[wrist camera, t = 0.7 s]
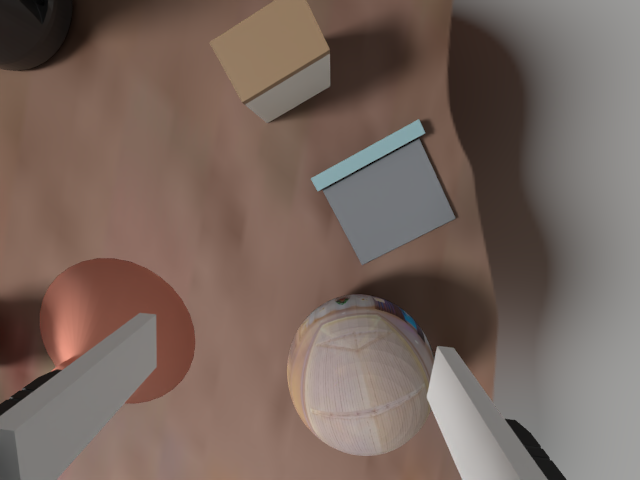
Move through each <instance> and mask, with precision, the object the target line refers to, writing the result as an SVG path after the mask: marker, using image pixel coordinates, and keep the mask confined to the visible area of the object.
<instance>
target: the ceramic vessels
mask: <svg viewBox="0 0 640 480" xmlns="http://www.w3.org/2000/svg"><path fill="white" fill-rule="evenodd" d="M139 313H147V314H156V347H157V367H156V368H155V369H154V370H153V372H152V373H151V374H150V375H149V376H148V377H147V378H146V379H145V381H144V382H143V383H142V384H141V385H140V386H139V387H138V388H137V390H136V391H135V392H134V393H133V394H132V395H131V396H130V397H129V399H128V400H127V401H126V402H125V403H141V402H147V401H151V400H153V399H156V398H159V397H161V396H163V395H165V394H166V393H168V392H169V391H171V390H173V389H174V388H175V387H176V386H177V385H178V384H179V383H180V382H181V381H182V380H183V378H184V376H185V375H186V373H187V372H188V370H189V368H190V365H191V363H192V360H193V357H194V350H195V334H194V327H193V324H192V320H191V317H190V314H189V312H188V310H187V308H186V306H185V305H184V303H183V301H182V299H181V298H180V297H179V296H178V294H177V293H176V292H175V291H174V289H173V288H172V287H171V286H170V285H169V284H168V283H166V282H165V281H164V280H163V279H162V278H161V277H160V276H158V275H156V274H155V273H153V272H152V271H150V270H148V269H147V268H145V267H142V266H140V265H137V264H135V263H132V262H129V261H124V260H119V259H114V258H97V259H93V260H88V261H83V262H80V263H78V264H76V265H74V266H71V267H69V268H68V269H66V270H65V271H64V272H62V273H61V274H60V275H58V276H57V277H56V279H55V280H54V281H53V282H52V284H51V285H50V286H49V287H48V290H47V292H46V294H45V296H44V298H43V301H42V305H41V309H40V330H41V335H42V340H43V343H44V345H45V348H46V350H47V353H48V355H49V356H50V358H51V359H52V361H53V363H54V364H55V366H56V368H55V369H53V370H52V371H54V370H56V369H59V370H63V369H64V368H66V367H67V366H68V365H70V364H71V363H73V362H74V361H75V360H77V359H78V358H79V357H81V356H82V355H83V354H85V353H86V352H87V351H89V350H90V349H91V348H93V347H94V346H96V345H97V344H98V343H100V342H101V341H102V340H104V339H105V338H106V337H108V336H109V335H110V334H112V333H113V332H114V331H116V330H117V329H119V328H120V327H121V326H123V325H124V324H125V323H127V322H128V321H129V320H131V319H132V318H133V317H135V316H136V315H137V314H139ZM52 371H51V372H52Z"/></svg>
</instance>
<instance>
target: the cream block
mask: <svg viewBox="0 0 640 480" xmlns="http://www.w3.org/2000/svg"><path fill="white" fill-rule="evenodd" d="M209 43H210V44H211V46H212V48H213V50H214V52H215V54H216V55H217V57H218V59H219V61H220V63H221V65H222V66H223V68H224V70H225V72H226V74H227V76H228V77H229V79H230V81H231V83H232V85H233V87H234V88H235V90H236V92H237V94H238V96H239V98H240V99H241V101H242V103H243V104H245V105H246V106H247V107H248V108H249V109H251V110H252V111H253V112H254V113H256V114H257V115H258V116H259V117H260V118H262V119H263V120H264V121H265V122H266V123H269V122H270V121H272V120H274V119H276V118H277V117H279V116H281V115H282V114H284V113H286V112H287V111H289V110H291V109H293V108H294V107H296V106H298V105H299V104H301V103H303V102H304V101H306V100H308V99H310V98H311V97H313V96H315V95H316V94H318V93H320V92H322V91H323V90H325V89H327V88H328V87H330V49H329V47H328V45H327V43H326V40H325V38H324V36H323V34H322V32H321V30H320V28H319V26H318V24H317V22H316V20H315V18H314V16H313V14H312V12H311V9H310V7H309V5H308V3H307V1H306V0H275V1H273V2H271V3H270V4H268V5H267V6H265V7H264V8H262V9H261V10H259V11H257V12H256V13H254V14H253V15H251V16H250V17H248V18H247V19H245V20H243V21H242V22H240V23H239V24H237V25H236V26H234V27H233V28H231V29H229V30H228V31H226V32H225V33H223V34H222V35H220V36H219V37H217V38H216V39H214V40H212V41H211V42H209Z"/></svg>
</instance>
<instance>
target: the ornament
mask: <svg viewBox="0 0 640 480" xmlns="http://www.w3.org/2000/svg"><path fill="white" fill-rule="evenodd" d="M433 364H434V355H433V351H432V349H431V346H430V344H429V342H428V340H427V337H426V336H425V334H424V332H423V331H422V329H421V328H420V327H419V325H418V324H417V323H416V322H415V320H414V319H413V318H412V317H411V316H410V315H409V314H407V313H406V312H405V311H404V310H402V309H401V308H400V307H398V306H397V305H395V304H393V303H391V302H389V301H387V300H384V299H382V298H379V297H375V296H371V295H363V294H353V295H346V296H341V297H338V298H335V299H332V300H330V301H328V302H326V303H324V304H323V305H321V306H319V307H318V308H317V309H315V310H314V311H313V312H312V313H311V314H310V315H309V316H308V317H307V318H306V319H305V321H304V322H303V323H302V324H301V326H300V327H299V329H298V331H297V333H296V334H295V337H294V339H293V342H292V344H291V347H290V351H289V356H288V365H287V377H288V386H289V391H290V395H291V398H292V401H293V403H294V406H295V408H296V410H297V412H298V414H299V416H300V417H301V419H302V421H303V422H304V423H305V425H306V426H307V427H308V428H309V429H310V430H311V431H312V432H313V434H314V435H315V436H317V437H318V438H319V439H320V440H321V441H323V442H324V443H326V444H327V445H329V446H331V447H333V448H335V449H337V450H339V451H342V452H345V453H348V454H353V455H360V456H371V455H379V454H383V453H387V452H390V451H392V450H394V449H397V448H399V447H400V446H402V445H403V444H405V443H406V442H407V441H409V440H410V439H411V438H412V437H413V436H414V435H415V434H416V433H417V432H418V431H419V430H420V429H421V427H422V426H423V425H424V423H425V421H426V419H427V418H428V416H429V414H430V412H431V406H430V404H429V402H428V399H427V393H428V388H429V383H430V379H431V374H432V369H433Z"/></svg>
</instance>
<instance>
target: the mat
mask: <svg viewBox="0 0 640 480" xmlns="http://www.w3.org/2000/svg"><path fill="white" fill-rule="evenodd" d="M323 192H324V194H325V196H326V198H327V200H328V201H329V203H330V205H331V207H332V209H333V211H334V213H335V215H336V217H337V218H338V220H339V222H340V224H341V226H342V228H343V230H344V232H345V234H346V236H347V237H348V239H349V241H350V243H351V245H352V247H353V249H354V251H355V253H356V254H357V256H358V258H359V260H360V262H361V264H362V265H363V264H365V263H367V262H369V261H371V260H373V259H375V258H377V257H379V256H381V255H383V254H385V253H387V252H389V251H391V250H393V249H395V248H397V247H399V246H401V245H403V244H405V243H407V242H409V241H411V240H413V239H415V238H417V237H419V236H421V235H423V234H425V233H427V232H429V231H431V230H433V229H435V228H437V227H439V226H441V225H443V224H445V223H447V222H449V221H451V220H453V219H455V216H454V213H453V211H452V209H451V207H450V205H449V203H448V200H447V198H446V196H445V194H444V192H443V189H442V187H441V185H440V183H439V181H438V179H437V176H436V174H435V172H434V170H433V168H432V165H431V163H430V161H429V159H428V157H427V155H426V152H425V150H424V148H423V146H422V144H421V141H420V139H417V140H415V141H413V142H411V143H409V144H408V145H406V146H404V147H402V148H400V149H398V150H396V151H395V152H393V153H391V154H389V155H387V156H385V157H384V158H382V159H380V160H378V161H376V162H374V163H372V164H371V165H369V166H367V167H365V168H363V169H361V170H359V171H358V172H356V173H354V174H352V175H350V176H348V177H347V178H345V179H343V180H341V181H339V182H337V183H335V184H334V185H332V186H330V187H328V188H326V189H324V190H323Z"/></svg>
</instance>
